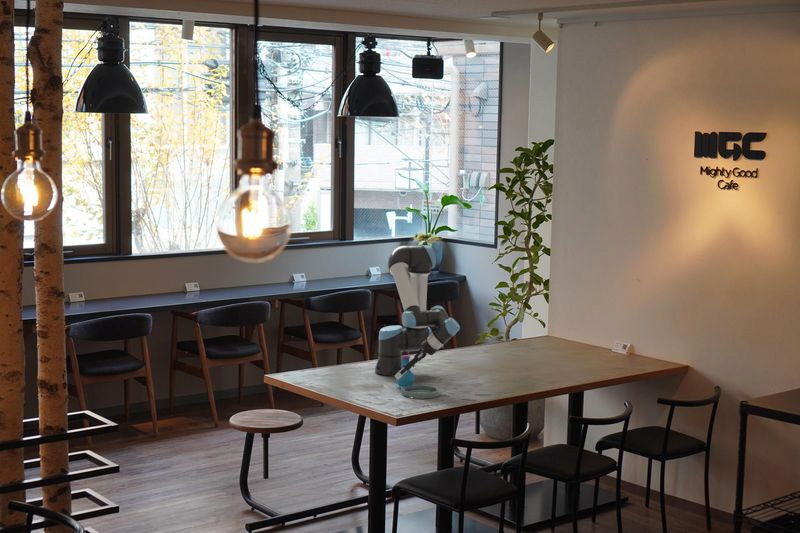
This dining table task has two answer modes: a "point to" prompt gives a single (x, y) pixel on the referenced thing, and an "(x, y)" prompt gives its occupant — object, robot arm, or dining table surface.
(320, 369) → the dining table surface
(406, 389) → the round dish
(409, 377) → the perfume bottle
